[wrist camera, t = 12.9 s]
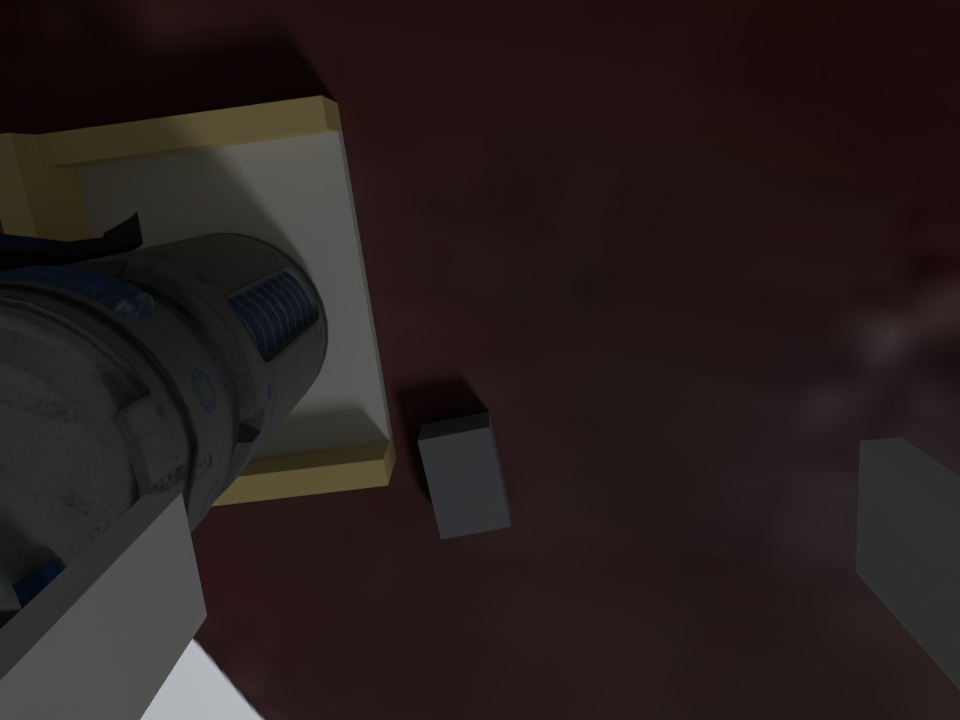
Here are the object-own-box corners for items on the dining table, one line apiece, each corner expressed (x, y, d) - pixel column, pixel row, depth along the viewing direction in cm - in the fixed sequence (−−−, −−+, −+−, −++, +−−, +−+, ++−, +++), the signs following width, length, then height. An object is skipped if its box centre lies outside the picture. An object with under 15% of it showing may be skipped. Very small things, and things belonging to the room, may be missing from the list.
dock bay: (50, 142, 40) (-23, 137, 35) (337, 103, 40) (312, 90, 34) (138, 489, 45) (87, 535, 39) (396, 458, 45) (382, 500, 39)
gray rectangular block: (422, 423, 44) (417, 440, 41) (489, 410, 44) (489, 426, 41) (443, 516, 46) (441, 539, 43) (509, 504, 45) (510, 526, 43)
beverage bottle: (248, 154, 39) (-133, 121, 15) (373, 373, 42) (222, 644, 18) (86, 245, 40) (-511, 350, 16) (218, 452, 43) (-123, 809, 19)
